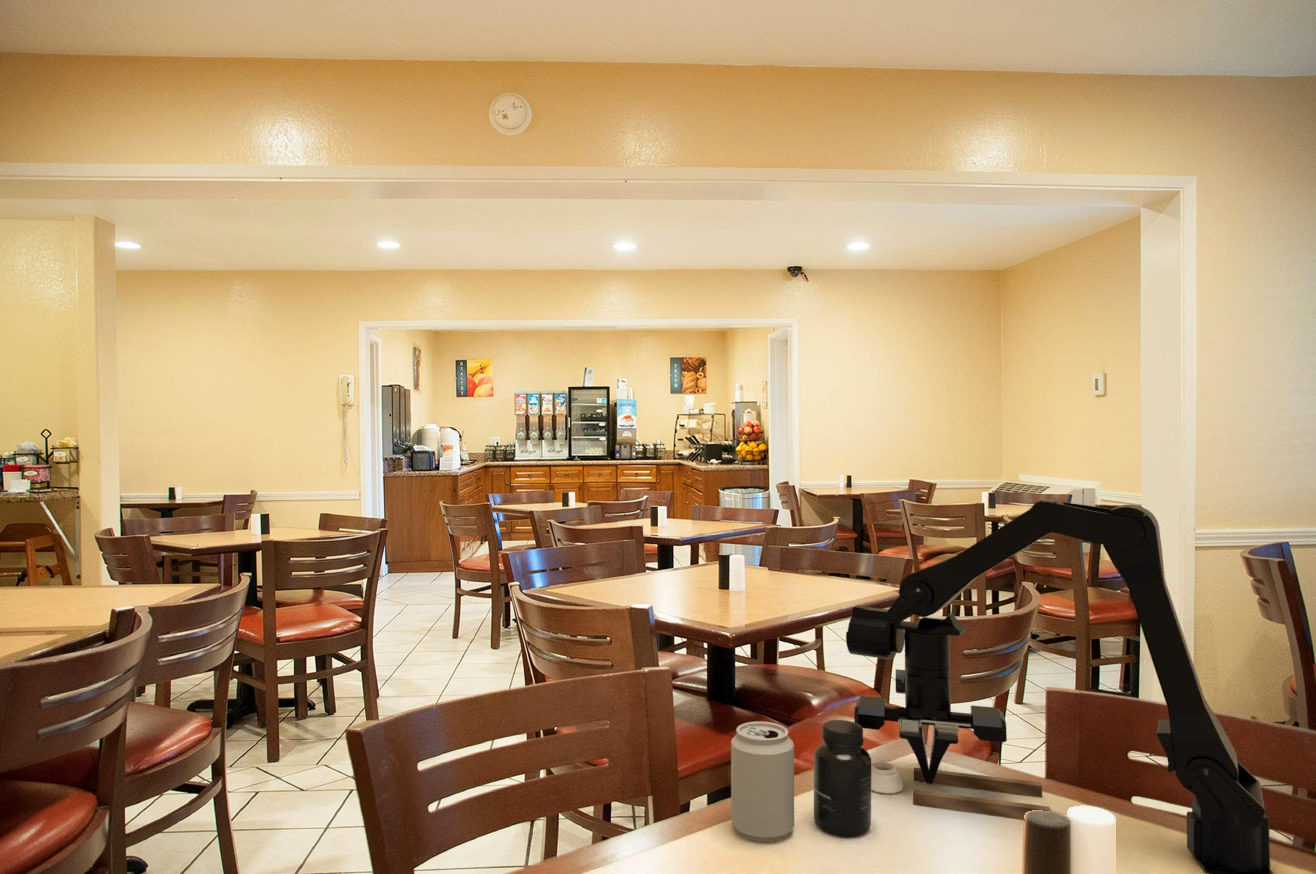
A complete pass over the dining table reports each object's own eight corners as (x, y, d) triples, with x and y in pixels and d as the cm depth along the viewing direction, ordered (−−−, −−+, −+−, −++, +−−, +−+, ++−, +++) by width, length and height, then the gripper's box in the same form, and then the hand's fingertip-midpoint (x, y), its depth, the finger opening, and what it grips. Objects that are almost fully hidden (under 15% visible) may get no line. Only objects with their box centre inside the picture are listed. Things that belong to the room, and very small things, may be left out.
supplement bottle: (806, 831, 93) (805, 729, 94) (822, 808, 99) (821, 713, 100) (864, 844, 90) (863, 739, 90) (877, 820, 96) (876, 721, 97)
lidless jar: (874, 777, 109) (858, 789, 106) (874, 756, 109) (857, 767, 106) (909, 787, 106) (893, 799, 102) (909, 765, 106) (893, 777, 102)
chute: (1040, 793, 104) (1040, 782, 104) (1051, 823, 95) (1051, 810, 95) (913, 778, 109) (913, 767, 109) (912, 804, 100) (912, 792, 100)
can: (793, 847, 89) (792, 741, 90) (727, 841, 91) (727, 737, 91) (795, 818, 97) (794, 720, 97) (734, 812, 98) (734, 716, 99)
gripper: (997, 655, 109) (999, 768, 109) (859, 645, 115) (861, 753, 115) (1005, 676, 98) (1008, 802, 98) (853, 664, 104) (854, 783, 104)
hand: (929, 783), depth 104 cm, fingers closed
